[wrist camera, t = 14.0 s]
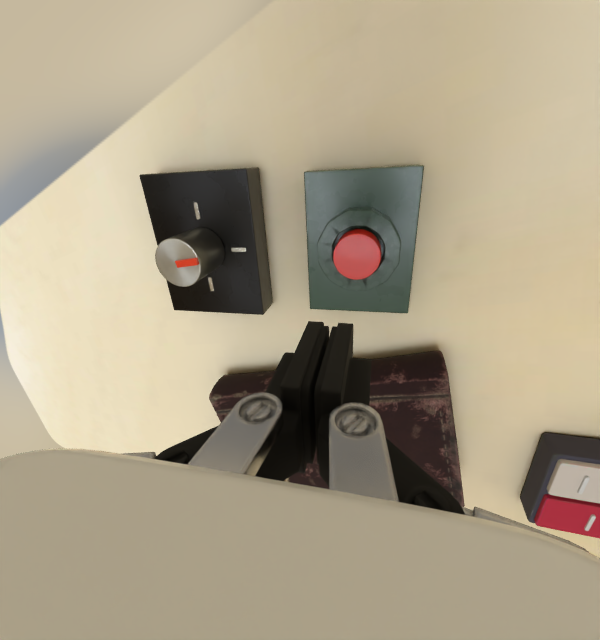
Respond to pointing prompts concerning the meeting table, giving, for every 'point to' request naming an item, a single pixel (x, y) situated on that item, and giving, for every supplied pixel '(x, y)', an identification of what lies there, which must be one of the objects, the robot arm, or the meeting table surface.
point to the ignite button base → (369, 214)
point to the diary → (386, 413)
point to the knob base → (227, 223)
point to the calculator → (564, 485)
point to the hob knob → (189, 256)
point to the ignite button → (357, 254)
